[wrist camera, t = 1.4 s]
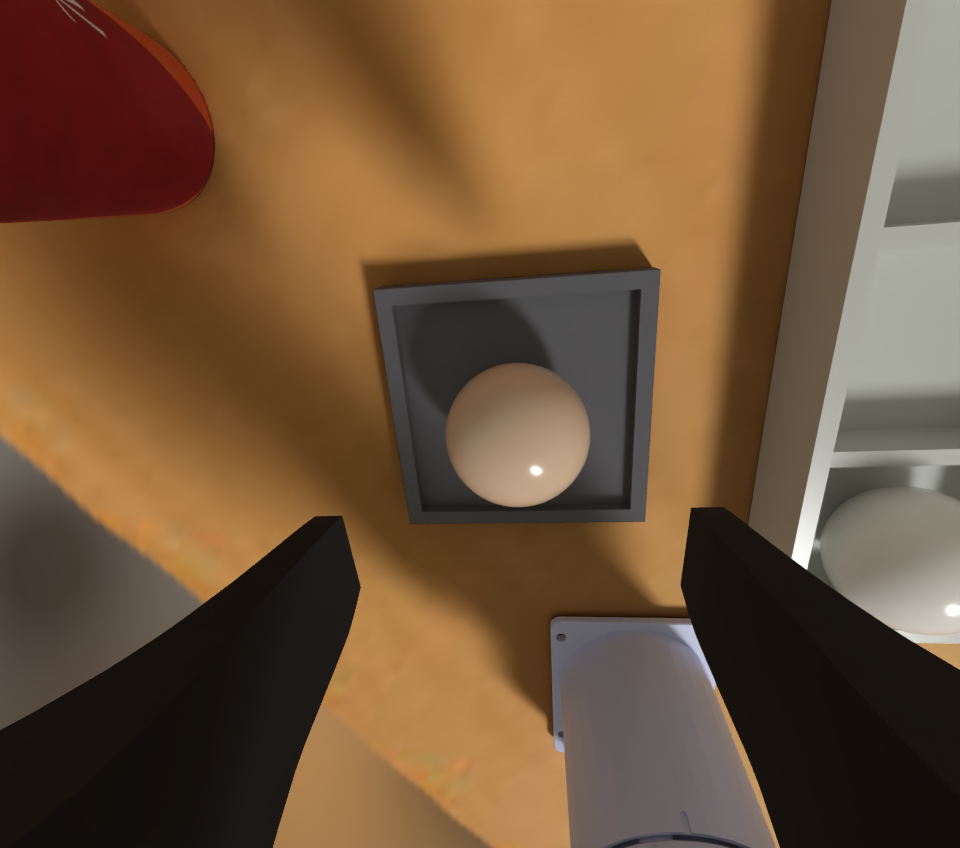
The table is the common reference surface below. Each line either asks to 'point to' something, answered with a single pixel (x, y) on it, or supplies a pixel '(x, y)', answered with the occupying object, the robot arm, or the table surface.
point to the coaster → (535, 340)
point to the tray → (870, 281)
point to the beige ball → (517, 434)
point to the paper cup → (94, 117)
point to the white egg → (898, 557)
